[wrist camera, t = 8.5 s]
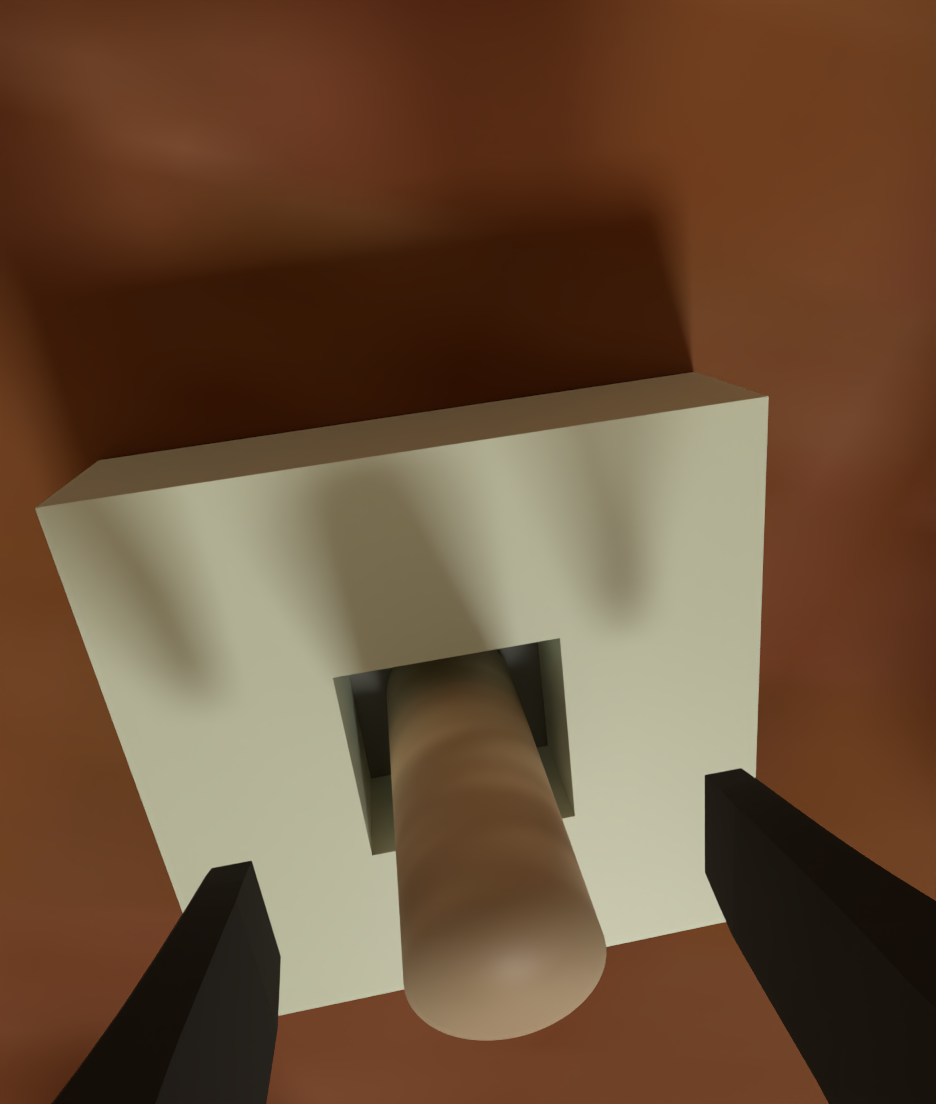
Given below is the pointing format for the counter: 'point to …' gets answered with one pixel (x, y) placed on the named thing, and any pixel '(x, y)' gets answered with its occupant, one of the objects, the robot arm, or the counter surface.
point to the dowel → (482, 858)
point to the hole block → (429, 641)
